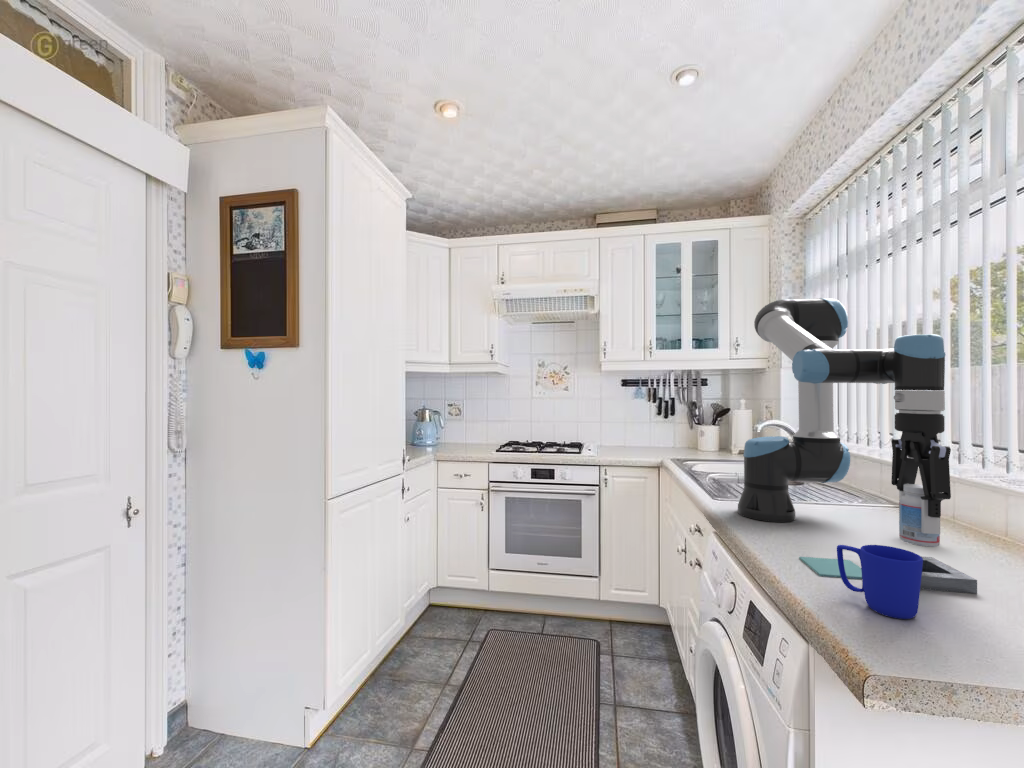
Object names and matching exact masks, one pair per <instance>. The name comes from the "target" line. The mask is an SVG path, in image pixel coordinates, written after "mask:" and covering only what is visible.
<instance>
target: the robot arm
mask: <svg viewBox="0 0 1024 768" xmlns="http://www.w3.org/2000/svg"><path fill="white" fill-rule="evenodd" d="M753 325H754V326H753V327H754V330H755V332H756V333H757V335H758V336H759V337H760V338H761V339H762V340H763V341H765V342H768V343H770V344H771V343H772V344H773V345H774V346H775V347H776V348H777V349H778V350H779V351H781V352H782V353H783V354H784V355H785V356H786V357H787V358H788V359H790V360H791V361H792V363H791V370H792V374H793V376H794V379H795V380H796V381H798V384H797V386H798V430H797V431H796V432H795V433H794V434H793V435H792V441H790V440H789V438H788V437H787V436H781V435H778V436H775V435H774V436H773V435H772V436H771V435H770V436H759V437H754V438H749V439H748V440H746V441H745V443H744V448H743V449H744V450H743V467H744V468H743V473H744V474H743V481H744V482H743V483H744V485H743V490H742V492H741V496H740V498H739V501H738V503H737V513H738V515H740V516H743V517H745V518H748V519H752V520H757V521H761V522H762V521H763V522H772V523H788V522H794V521H795V520H796V509H795V507H794V504H793V501H792V498H791V495H790V492H789V482H802V483H803V482H806V483H820V484H826V483H838V482H841V481H842V480H844V478H845V477H846V476H847V475H848V473H849V469H850V467H851V466H850V465H851V453H850V452H849V451H850V450H849V448H848V446H847V445H846V444H845V443H843V442H841V437H840V435H839V434H838V433H836V432H835V430H834V429H835V428H834V427H835V426H834V384H847V383H849V384H878V385H885V384H894V396H893V399H894V408H895V409H894V410H896V411H898V412H895V413H894V430H896V431H897V432H901V436H900V438H892V439H891V448H892V457H891V458H892V459H891V460H892V461H891V463H892V464H891V485H892V486H896V489H897V490H898V495H899V496H898V497H899V499H900V497H901V496H903V495H905V492H904V490H903V489H904V484H916V479H917V475H918V471H919V475H920V480H921V485H923V490H924V495H925V496H922V497H921V532H922V533H927V534H940V535H941V516H942V514H941V511H942V506H941V505H942V501H944V500H950V499H951V498H952V496H951V495H952V493H951V476H950V475H951V474H950V473H951V471H950V456H951V451H952V449H951V447H950V446H949V445H948V446H947V445H946V446H943V445H941V444H940V442H939V439H938V436H937V435H938V434H942V433H944V432H945V424H946V423H945V415H944V414H943V413H942V412H944V411H945V410H946V408H945V405H946V404H945V403H946V402H945V399H946V398H945V394H946V393H945V371H946V370H945V369H946V368H945V365H946V364H945V363H946V362H945V361H946V356H947V355H946V352H945V345H944V343H945V342H944V338H943V337H942V335H939V334H936V333H935V334H934V333H933V334H931V333H925V334H922V333H921V334H907V335H901V336H900V335H899V336H898V337H896V339H895V340H894V346H893V348H883V349H882V348H880V349H879V348H878V349H877V348H874V349H873V348H872V349H871V348H869V349H868V348H867V349H866V348H865V349H864V348H863V349H862V348H861V349H844V348H843V349H839V348H838V349H837V348H836V349H834V348H835V347H836V346H837V345H838V344H839V342H840V341H839V340H840V338H842V337H844V336H845V334H846V333H847V328H848V327H849V317H848V312H847V309H846V307H845V306H844V304H843V303H841V301H840V300H838V299H837V298H836V299H835V298H824V297H819V298H817V297H816V298H795V299H789V298H788V299H778V300H773V301H771V302H770V303H768V304H765V305H764V306H763V307H762V308H761V309H760V310H759V311H758V312H757V314H756V316H755V319H754V324H753ZM899 499H898V500H899Z"/></svg>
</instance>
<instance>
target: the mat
mask: <svg viewBox="0 0 1024 768" xmlns="http://www.w3.org/2000/svg"><path fill="white" fill-rule="evenodd" d="M798 558H799V560H800V561H802V562H803V563H804V564H805V565H806V566H808V567H809V568H810V569H811V570H813V572H815V573H816V574H817V575H818V576H819V577H827V578H828V577H829V578H840V579H841V576H840V572H839V566H838V559H837V558H829V557H828V558H826V557H825V558H824V557H812V556H811V557H810V556H798ZM843 561H844V568H845V573H846V576H847V579H855V580H862V570H861V566H859V565H858V564H856V563H854V562H853V561H852V560H850V559H843Z"/></svg>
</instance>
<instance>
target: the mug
mask: <svg viewBox="0 0 1024 768" xmlns="http://www.w3.org/2000/svg"><path fill="white" fill-rule="evenodd" d="M843 550H845V551H849V552H853V553H856V555H858V557H859V561H860V568H861V570H862V579H861V584H862V585H861V588H859V587H856V586H854V585H853V584H852V583H851V582H850V580H849V578H847V576H846V573H845V568H844V561H843V560H844V554H843V553H844V552H843ZM836 555H837V556H836V559H838V566H839V572H840V576H841V578H840V579H841V581H842V583H843V584H844V586H845V587H846V588H847V589H848V590H850V591H853V592H856V593H864V594H863V595H864V599H865V602H866V604H867V606H868V607H869V608H870V609H871V610H873V611H874V612H876V613H878V614H880V615H883V616H886V617H889V618H893V619H897V620H898V619H900V620H910V619H914V618H915V617H916V616H917V615H918V611H919V607H920V606H919V605H920V596H921V595H920V593H921V589H920V586H921V576H922V566H923V558H922V557H921V556H922V555H919V554H918V553H915V552H913V551H910V550H906V549H904V548H900V547H895V546H889V545H882V544H880V545H879V544H865V545H862V546H860V548H859V547H855V546H851V545H847V544H846V545H845V544H838V545H837V546H836Z"/></svg>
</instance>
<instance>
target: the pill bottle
mask: <svg viewBox="0 0 1024 768" xmlns="http://www.w3.org/2000/svg"><path fill="white" fill-rule="evenodd" d="M903 490H904V492H905V495H903V496H901V497H900V499H898V501H899V502H898V513H899V514H898V516H899V517H898V520H899V521H898V529H899V530H898V532H899V533H898V535H899V539H900V541H903V542H905V543H907V544H911V545H915V546H920V547H938V546H939V545H941V536H940V535H941V533H940V534H927V533H922V532H921V497H922V496H925V495H924V490H923V485H922V484H918V483H917V484H916V483H915V484H904V489H903Z"/></svg>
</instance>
